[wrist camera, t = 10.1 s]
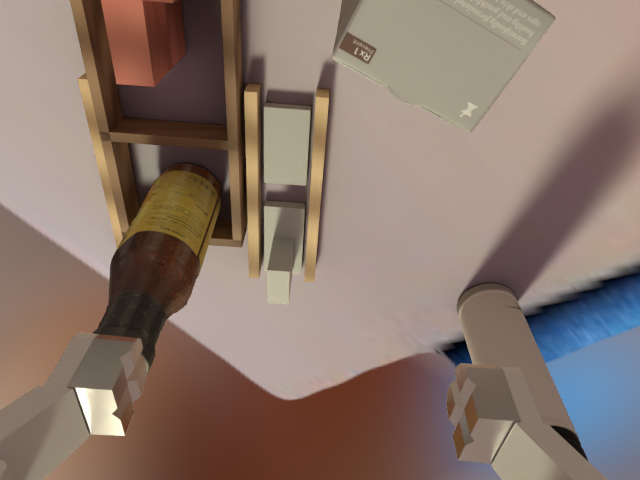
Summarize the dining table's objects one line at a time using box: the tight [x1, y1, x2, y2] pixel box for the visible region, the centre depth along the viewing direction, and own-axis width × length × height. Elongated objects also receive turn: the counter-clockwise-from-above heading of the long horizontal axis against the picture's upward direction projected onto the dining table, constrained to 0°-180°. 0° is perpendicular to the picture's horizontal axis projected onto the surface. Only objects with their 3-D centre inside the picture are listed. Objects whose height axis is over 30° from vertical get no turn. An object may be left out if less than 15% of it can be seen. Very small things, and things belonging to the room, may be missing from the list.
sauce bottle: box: [92, 163, 221, 374], centre depth 36 cm, size 6×6×20 cm
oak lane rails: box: [78, 73, 329, 282], centre depth 43 cm, size 19×19×2 cm
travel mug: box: [457, 283, 588, 461], centre depth 44 cm, size 6×7×20 cm
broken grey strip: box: [264, 103, 311, 304], centre depth 42 cm, size 18×4×6 cm, turn 176°
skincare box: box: [332, 0, 556, 132], centre depth 27 cm, size 8×7×16 cm
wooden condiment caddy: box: [70, 0, 247, 247], centre depth 36 cm, size 22×11×8 cm, turn 176°
